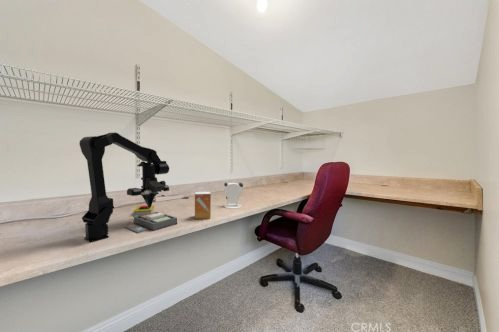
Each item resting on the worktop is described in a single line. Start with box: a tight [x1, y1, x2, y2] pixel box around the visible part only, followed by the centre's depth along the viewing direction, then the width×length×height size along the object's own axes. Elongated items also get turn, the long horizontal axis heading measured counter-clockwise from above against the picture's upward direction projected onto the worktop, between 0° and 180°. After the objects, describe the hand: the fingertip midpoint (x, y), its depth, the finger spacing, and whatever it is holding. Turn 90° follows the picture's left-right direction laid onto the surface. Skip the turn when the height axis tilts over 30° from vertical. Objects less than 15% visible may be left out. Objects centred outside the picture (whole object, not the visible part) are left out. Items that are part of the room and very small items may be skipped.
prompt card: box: [124, 223, 148, 234], centre depth 98 cm, size 4×12×1 cm, turn 53°
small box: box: [194, 191, 212, 220], centre depth 117 cm, size 8×6×13 cm
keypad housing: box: [133, 211, 178, 232], centre depth 106 cm, size 12×17×3 cm
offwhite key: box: [146, 212, 165, 221], centre depth 106 cm, size 7×4×2 cm, turn 144°
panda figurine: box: [223, 182, 244, 209], centre depth 141 cm, size 12×11×15 cm
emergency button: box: [133, 204, 155, 218], centre depth 125 cm, size 9×4×15 cm
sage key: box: [153, 217, 171, 223], centre depth 103 cm, size 7×4×2 cm, turn 144°
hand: (149, 207), depth 109 cm, fingers closed
